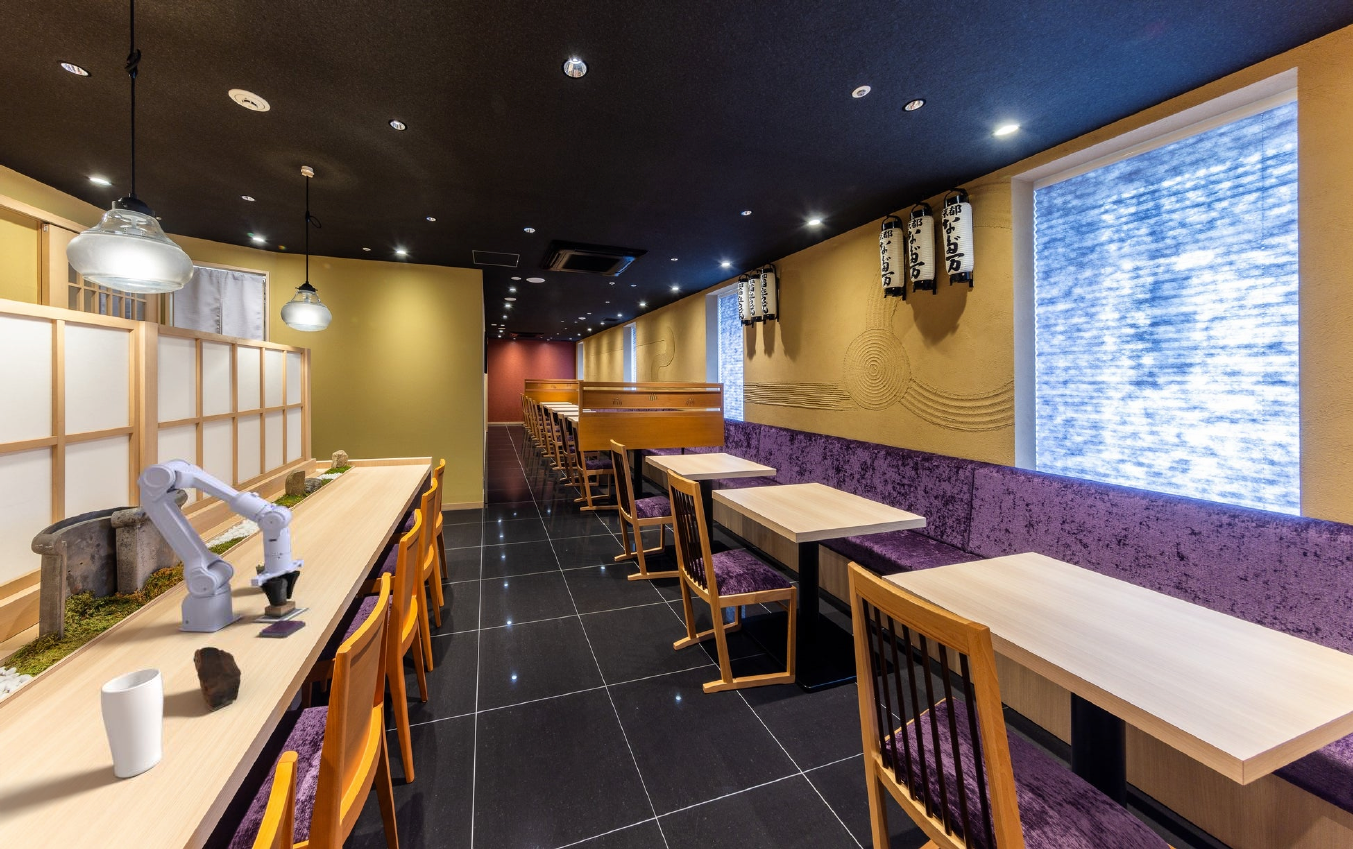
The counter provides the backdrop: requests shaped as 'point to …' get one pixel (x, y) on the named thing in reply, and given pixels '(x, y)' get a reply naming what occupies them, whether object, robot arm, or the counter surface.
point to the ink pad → (282, 628)
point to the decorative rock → (217, 676)
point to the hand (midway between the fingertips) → (280, 601)
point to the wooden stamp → (281, 603)
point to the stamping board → (285, 617)
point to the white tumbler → (134, 720)
